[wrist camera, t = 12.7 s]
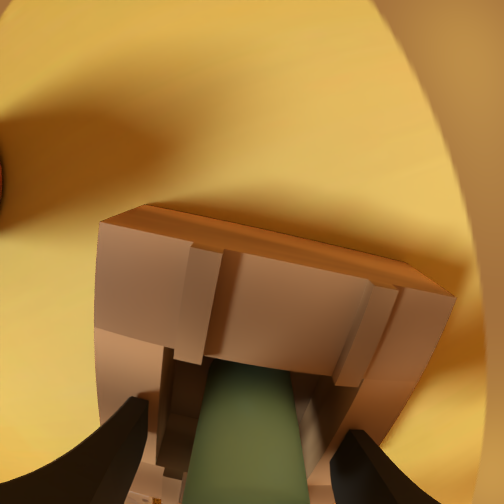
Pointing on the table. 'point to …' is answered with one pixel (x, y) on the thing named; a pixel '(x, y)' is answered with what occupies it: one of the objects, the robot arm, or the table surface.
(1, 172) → the supplement bottle
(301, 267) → the dock
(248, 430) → the peg
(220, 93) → the table surface
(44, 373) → the table surface
